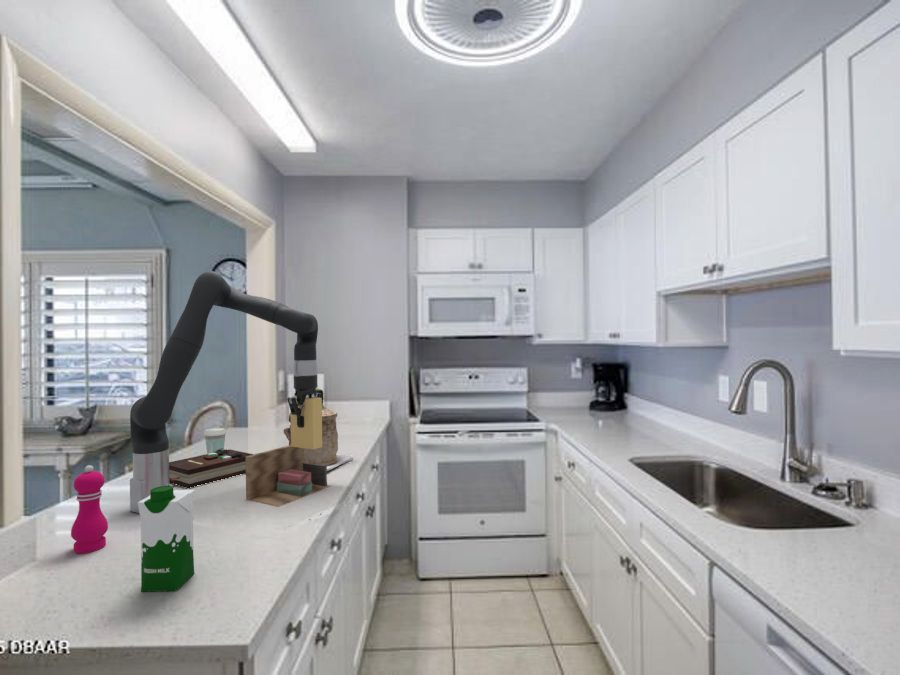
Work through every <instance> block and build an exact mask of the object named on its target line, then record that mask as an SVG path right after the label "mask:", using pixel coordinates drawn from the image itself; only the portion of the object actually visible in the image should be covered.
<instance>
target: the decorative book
mask: <svg viewBox="0 0 900 675" xmlns="http://www.w3.org/2000/svg"><path fill="white" fill-rule="evenodd" d="M221 449H224V450H221ZM221 449H220V450H216V451H215V452H213V453H210V454H207V453H206V454H202V455H197V456H193V457H187V458H183V459H177V460H174V461H169V482H171V483H174V484H173V485H175V484H177V485H176V486H178V485H180V486H179V487H181V486H183V487H182V488H184V487H187V488H189V489H191V488H190V487H193V488H195V487H194V486H197V485H201V484H205V483H208V484H210V483H209V482H212V483H214V482H213V481H216V482H218V481H217V480H220V481H222V480H221V479H224V480H226V479H225V478H227V479H230V478H229V477H231V478H233V477H232V476H235V477H237V476H236V475H239V476H241V475H240V474H242V475H245V474H244V473H246V456H250V455H254V454H255V453H254V454H253V453H250V452H249V453H248V452H243V451H239V450H234V449H230V448H229V449H227V448H226V449H225V447H224V448H221ZM171 483H170V484H171ZM205 485H206V484H205ZM201 486H202V485H201ZM197 487H198V486H197ZM187 488H186V489H187Z"/></svg>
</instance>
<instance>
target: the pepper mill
mask: <svg viewBox="0 0 900 675" xmlns="http://www.w3.org/2000/svg"><path fill="white" fill-rule="evenodd" d="M105 482H106V481H105V476H104V474H102V473H101V472H100V471H98V470H97V471H95V470H94V466H93V465H90V464H88V465H86V466H85V467H84V472H83V473H80V474H79V475H77V476H76V477H75V479H74V481H73V490H75V491H76V492H77V494H76V495H75V496H76V498H75V500H76V501H78V512H77V515H76V518H75V520H74V522H73V523H72V526H71V530H70V537H71V538H72V539H73V540H74V541H75V542H74V543H73V552H74V553H75V554H87V553H92V552H96V551H99V550H101V549H102V548H105V547H106V545H107V538H106V536H104V535H105V534H106V533H107V531H108V530H109V523H108V520H107V518H106V516H105V515H104V514H103V512H102V509H101V503H100V501H101V497H102V496H103V490H102V487H103V486H104V485H105Z"/></svg>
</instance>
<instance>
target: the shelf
mask: <svg viewBox="0 0 900 675" xmlns="http://www.w3.org/2000/svg"><path fill="white" fill-rule="evenodd" d="M327 472H328V471H327V466H323V465H317V464H310V463H304V448H298V447H291V445H289V444H288V445H286V446H282V447H278V448H273V449H270V450H266V451H263V452H258V453H254V455H250V456H246V474H245V500H246V501H249V502H255V503H260V504H263V505H268V506H273V507H276V508H279V507H282V506H285V505H287V504H289V503H291V502H295V501H297V500H300V499H302V498H305V497H308V496H309V495H313V494H316V493H318V492H320V491H322V490H325V489H327V488H331V485H329V484H328V478H327V477H328V474H327Z"/></svg>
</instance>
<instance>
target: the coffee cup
mask: <svg viewBox="0 0 900 675" xmlns="http://www.w3.org/2000/svg"><path fill="white" fill-rule="evenodd" d="M226 434H227V431H226V429H225V428H224V427H214V428H208V429H205V431H204V434H203V435H204V438H205V446H206V454H210V453H213V452H215V451H216V450H220V449H221V448H224V449H221V450H225V442H226Z"/></svg>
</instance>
